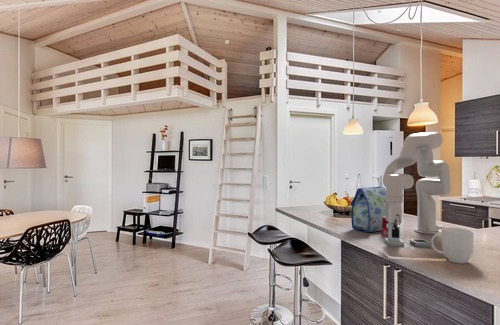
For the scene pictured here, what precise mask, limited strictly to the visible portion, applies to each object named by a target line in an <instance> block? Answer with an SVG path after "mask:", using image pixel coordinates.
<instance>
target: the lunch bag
mask: <svg viewBox="0 0 500 325" xmlns="http://www.w3.org/2000/svg"><path fill="white" fill-rule="evenodd" d="M386 205H387V202H386V187H385V186H384V187H383V186H372V187H371V186H369V187H360V188H359V187H358V188H357V189H356V191H355V195H354V197H353V198H352V200H351V202H350V206H351V214H350V215H351V216H350V218H351V227H352V229H353V230H359V231H363V232H366V233H370V232H371V233H372V232H373V233H374V232H379V231H381V232H382V216H386Z"/></svg>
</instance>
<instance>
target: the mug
mask: <svg viewBox="0 0 500 325" xmlns="http://www.w3.org/2000/svg"><path fill="white" fill-rule="evenodd" d="M436 237H441V247H442V250H440V249H438V248H437V246H435V242H434V241H435V239H436ZM430 240H431V241H430V243H431V246H432V247H433V249H434V251H435V252H437V253H439V254H442V255H443V256H445V257H446V260H448V261H449V262H451V263H455V264H466V263H467V262H469V261H470V259H471V257H472V254H473V252H474V251H473V250H474V231H473V230H470V229H467V228H463V227H462V228H461V227H455V226H454V227H452V226H445V227H444V228H442V230H441V233H440V232H439V233H438V234H433V236H432V238H431V239H430Z"/></svg>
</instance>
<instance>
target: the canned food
mask: <svg viewBox="0 0 500 325" xmlns="http://www.w3.org/2000/svg"><path fill="white" fill-rule="evenodd" d="M387 223H389V222H388V221H387V220H386V216H382V230H381V233H382V235H383V236H387V237H388V233H389V228H387V227H386V225H387Z"/></svg>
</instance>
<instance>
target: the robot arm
mask: <svg viewBox="0 0 500 325" xmlns="http://www.w3.org/2000/svg"><path fill="white" fill-rule="evenodd" d="M402 144H403V145H402V148H401V150H400V154H399V156H398V157H397V158H395V159H393V161H391V162H390V163H389V164H388V165H387V166H386V168H385V170H384V174H383V175H382V176H383V177H382V184H383V186H384V187H385V191H386V202H387V205H386V220H387V221H388V222H390V223H392V224H393V229H392V237H393V238H399V227H401V224H402V220H403V218H402V217H403V216H402V215H403V213H402V209H403V208H402V204H403V202H404V195H403V194H404V190H408V189H411V188H412V187H413V186H414V183H415V191H416V198H417V200H416V201H417V204H416V205H417V213H416V214H417V227H415V228H414V232H416V233H420V234H426V235H435V234H438V233H440V231H439V230H441V231H442V228H444V227H446V226H443V225H438V224H437V202H436V200H435V198H433V196H435V197H436V196H440V197H447V196H449V195H450V194H451V174H450V172H451V171H450V165H449V163H448V162H446V161H444V160H435V159H434V153H433V152H434V151H433V150H435V149H437V148H440V147H441V146H442V144H443V136H442V134H441V133H440V132H435V131H433V132H432V131H431V132H417V133H410V134H409V135H408V136H406V138H405V139H404V142H403V143H402ZM415 164H416V165H417V166H416V168H417V173H418V176H420V177H423V178H420V179H418V180H417V181H416V182H415V180H414V177H413V176H412V175H411V174H409V173H396V172H397V171H399V170H401V169H404V168H407V167H410V166H412V165H415ZM437 178H438V179H437ZM394 222H396V223H394ZM394 224H396V225H395V226H394Z"/></svg>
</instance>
